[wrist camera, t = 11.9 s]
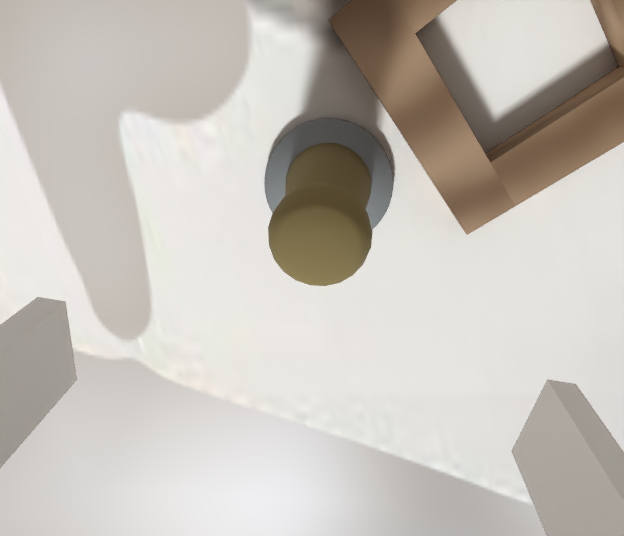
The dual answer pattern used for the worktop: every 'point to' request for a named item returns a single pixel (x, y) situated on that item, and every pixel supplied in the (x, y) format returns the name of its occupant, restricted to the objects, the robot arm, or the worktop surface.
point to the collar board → (452, 125)
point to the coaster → (340, 134)
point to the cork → (323, 216)
